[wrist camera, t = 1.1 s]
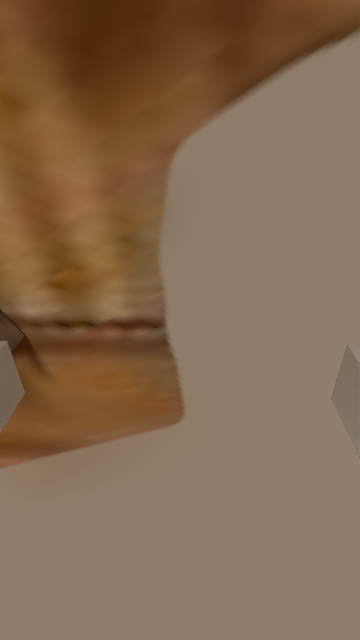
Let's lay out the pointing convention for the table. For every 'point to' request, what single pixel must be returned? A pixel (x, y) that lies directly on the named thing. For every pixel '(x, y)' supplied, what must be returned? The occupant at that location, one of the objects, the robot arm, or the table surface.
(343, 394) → the robot arm
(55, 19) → the table surface
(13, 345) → the rack
